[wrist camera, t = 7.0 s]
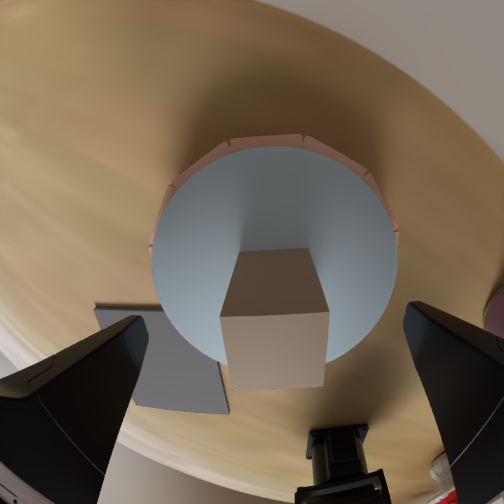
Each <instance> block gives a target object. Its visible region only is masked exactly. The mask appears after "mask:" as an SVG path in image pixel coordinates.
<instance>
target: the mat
mask: <svg viewBox="0 0 504 504" xmlns="http://www.w3.org/2000/svg"><path fill="white" fill-rule="evenodd" d="M94 312H95V315H96V318H97V320H98V323H99V325H100V328H101V330H103V329H104V328H106V327H108V326H110V325H112V324H114V323H116V322H118V321H120V320H122V319H124V318H126V317H128V316H130V315H141V316H142V317H143V318H144V321H145V324H146V328H147V331H148V334H149V342H148V346H147V350H146V353H145V357H144V361H143V365H142V368H141V372H140V375H139V378H138V381H137V384H136V386H135V389H134V392H133V394H132V398H133V400H134V402H135V404H136V405H139V406H145V407H152V408H159V409H166V410H175V411H184V412H195V413H208V414H229V413H230V410H229V406H228V402H227V398H226V394H225V389H224V385H223V380H222V376H221V371H220V367H219V362H218V361H216V360H214V359H212V358H210V357H209V356H207V355H205V354H204V353H202V352H201V351H199V350H198V349H197V348H195V347H194V346H193V345H191V344H190V343H189V342H188V341H187V340H186V339H185V338H184V337H183V336H182V335H181V334H180V333H179V332H178V330H177V329H176V328H175V327H174V326H173V324H172V323H171V321H170V320H169V318H168V317H167V315H166V313H165V312H164V310H163V309H138V308H106V307H95V308H94Z"/></svg>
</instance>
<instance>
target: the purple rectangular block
mask: <svg viewBox="0 0 504 504" xmlns="http://www.w3.org/2000/svg"><path fill="white" fill-rule="evenodd" d="M483 327H484V330H486V331H488V332H490V333H492V334H494V335H495V336H496V335H497V336H499V337H501V338H503V339H504V285H503V286H502V287H500V288H499V289H498V290H497V291H496V292H495V294H494V295H493V296H492V298H491V299H490V301H489V303H488V305H487V307H486V309H485V312H484V317H483Z"/></svg>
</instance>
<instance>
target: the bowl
mask: <svg viewBox="0 0 504 504" xmlns="http://www.w3.org/2000/svg"><path fill="white" fill-rule="evenodd" d="M265 146H286V147H293V148H300V149H305V150H309V151H312V152H315V153H319V154H322V155H324V156H326V157H329V158H331V159H333V160H335V161H337V162H339V163H341V164H342V165H344V166H345V167H347V168H348V169H350V170H351V171H353V172H354V173H355V174H356V175H358V176H359V177H360V178H361V179H362V180H363V181H364V182H365V183H366V184H367V185H368V186H369V187H370V188H371V189H372V191H373V192H374V193H375V194H376V196H377V197H378V198H379V200H380V202H381V203H382V205H383V207H384V208H385V210H386V212H387V214H388V217H389V219H390V221H391V224H392V227H393V230H394V234H395V239H396V243H397V253H398V242H399V232H398V231H397V229H398V226H397V224H396V222H395V219H394V217H393V215H392V213H391V211H390V209H389V207H388V205H387V203H386V201H385V199H384V197H383V195H382V193H381V191H380V189H379V187H378V185H377V184H376V182H375V180H374V178H373V176H372V174H371V173H370V172H368V171H366V170H367V168H365V167H363V166H362V165H360V164H358V163H357V162H355V161H353V160H352V159H350V158H348V157H347V156H345V155H343V154H341V153H340V152H338V151H336V150H334V149H332V148H331V147H329V146H327V145H325V144H323V143H321V142H320V141H318V140H316V139H314V138H312V137H310V136H308V135H305V136H303V137H302V134H283V135H266V136H253V137H242V138H232V139H230V141H224V142H222V143H221V144H220V145H218V146H217V147H215V148H214V149H213V150H211V151H210V152H209V153H207V154H206V155H205V156H203V157H202V158H201V159H199V160H198V161H197V162H195V163H194V164H193V165H191V166H190V167H189V168H188V169H186V170H185V171H184V172H183V173H181V174H180V175H179V176H177V177H176V178H175V179H174V180H173V181H171V182H172V184H171V185H168V188H167V190H166V193H165V196H164V198H163V201H162V204H161V207H160V209H159V212H158V215H157V218H156V221H155V224H154V227H153V230H152V233H151V236H150V239H149V242H148V243H150V244H151V245H150V246H149V247H148V249H149V254H150V259H151V255H152V246H153V240H154V236H155V232H156V228H157V225H158V223H159V220H160V218H161V216H162V213H163V211H164V209H165V208H166V206H167V205H168V203H169V201H170V200H171V198H172V197H173V195H174V194H175V193H176V192H177V191H178V190H179V188H180V187H181V186H182V185H183V184H184V183H185V182H186V181H187V180H188V179H189V178H191V177H192V176H193V175H194V174H195V173H196V172H198V171H199V170H201V169H202V168H204V167H205V166H207V165H208V164H210V163H211V162H213V161H216V160H218V159H220V158H222V157H224V156H227V155H229V154H232V153H235V152H239V151H242V150H246V149H251V148H258V147H265ZM151 263H152V261H151Z"/></svg>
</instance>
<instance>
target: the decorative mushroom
mask: <svg viewBox="0 0 504 504" xmlns="http://www.w3.org/2000/svg"><path fill="white" fill-rule="evenodd" d="M430 474H431V476H432V477H433V479H435V480H436V481H438V482H439V483H440V484H441V485H442V486H443V489H444V490H443V491H441V492H440V493H439V494H437V495H435V496H434V497H432V498H431V499H429V500H428V501H426V503H425V504H458V500H457V496H456V491H455V487H454V483H453V478H452V474H451V471H450V466H449V462H448V459H447V455H446V452H445V453H444V454H442V455H440V456H439V457H438V458H437V459H436V460H434V462H433V464H432V466H431V469H430Z"/></svg>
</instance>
